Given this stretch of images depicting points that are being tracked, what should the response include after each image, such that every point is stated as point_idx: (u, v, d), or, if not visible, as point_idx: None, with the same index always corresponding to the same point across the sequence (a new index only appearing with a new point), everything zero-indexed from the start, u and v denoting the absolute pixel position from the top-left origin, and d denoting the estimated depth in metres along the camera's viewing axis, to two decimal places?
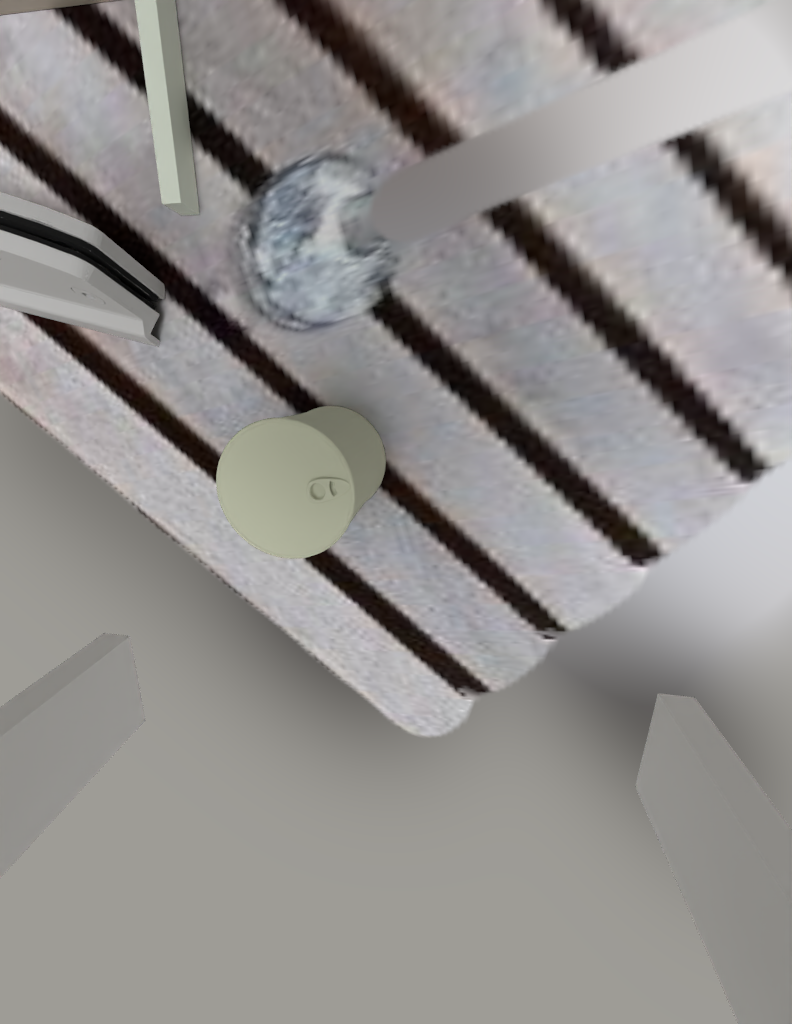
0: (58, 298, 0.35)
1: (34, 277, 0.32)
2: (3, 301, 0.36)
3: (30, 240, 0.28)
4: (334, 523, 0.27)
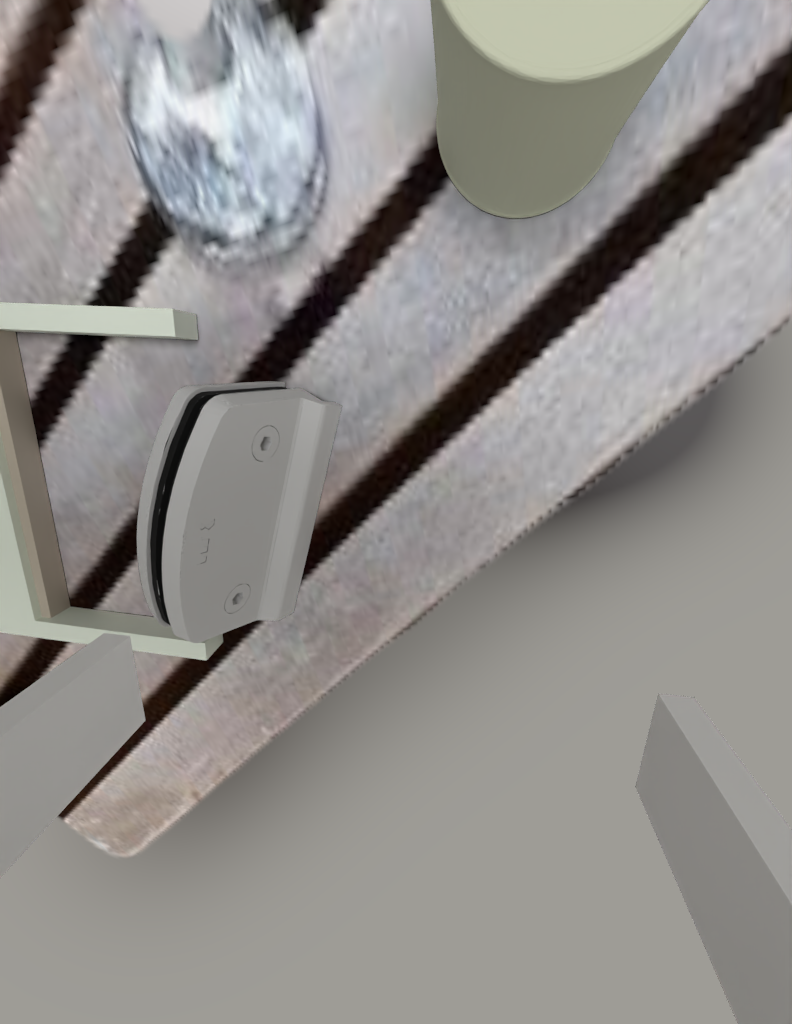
0: (279, 509, 0.28)
1: (242, 502, 0.25)
2: (286, 586, 0.30)
3: (183, 456, 0.22)
4: None
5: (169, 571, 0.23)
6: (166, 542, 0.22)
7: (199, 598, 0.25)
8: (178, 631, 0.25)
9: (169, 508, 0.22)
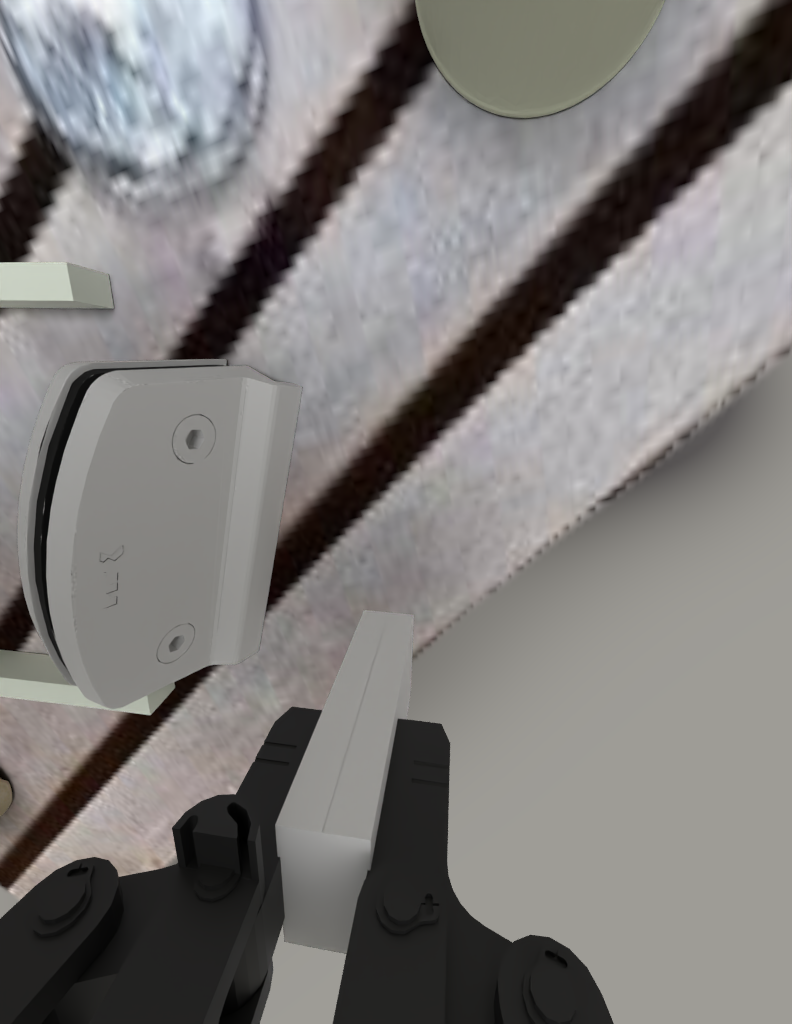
0: (226, 525, 0.22)
1: (167, 519, 0.18)
2: (244, 621, 0.24)
3: (63, 460, 0.15)
4: None
5: (60, 621, 0.17)
6: (50, 582, 0.16)
7: (113, 652, 0.18)
8: (90, 696, 0.19)
9: (49, 535, 0.15)
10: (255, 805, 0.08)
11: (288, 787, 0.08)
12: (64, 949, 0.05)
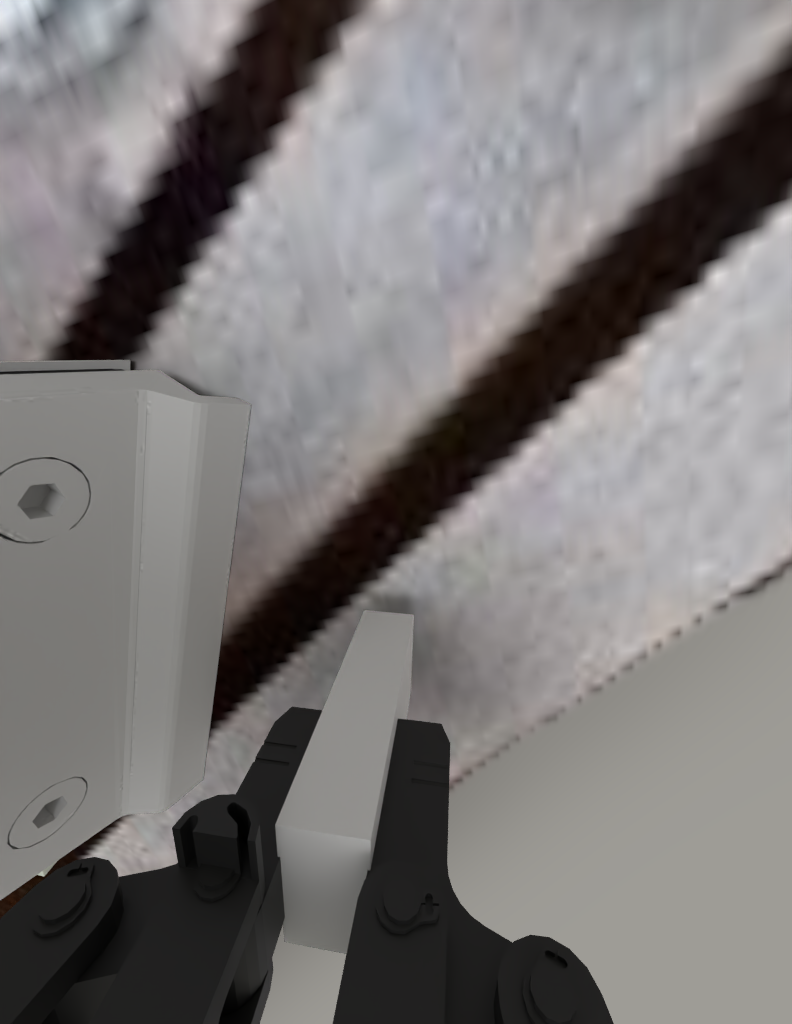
0: (130, 623, 0.14)
1: None
2: (172, 753, 0.16)
3: None
4: None
5: None
6: None
7: None
8: None
9: None
10: (255, 805, 0.08)
11: (289, 786, 0.08)
12: (64, 949, 0.05)
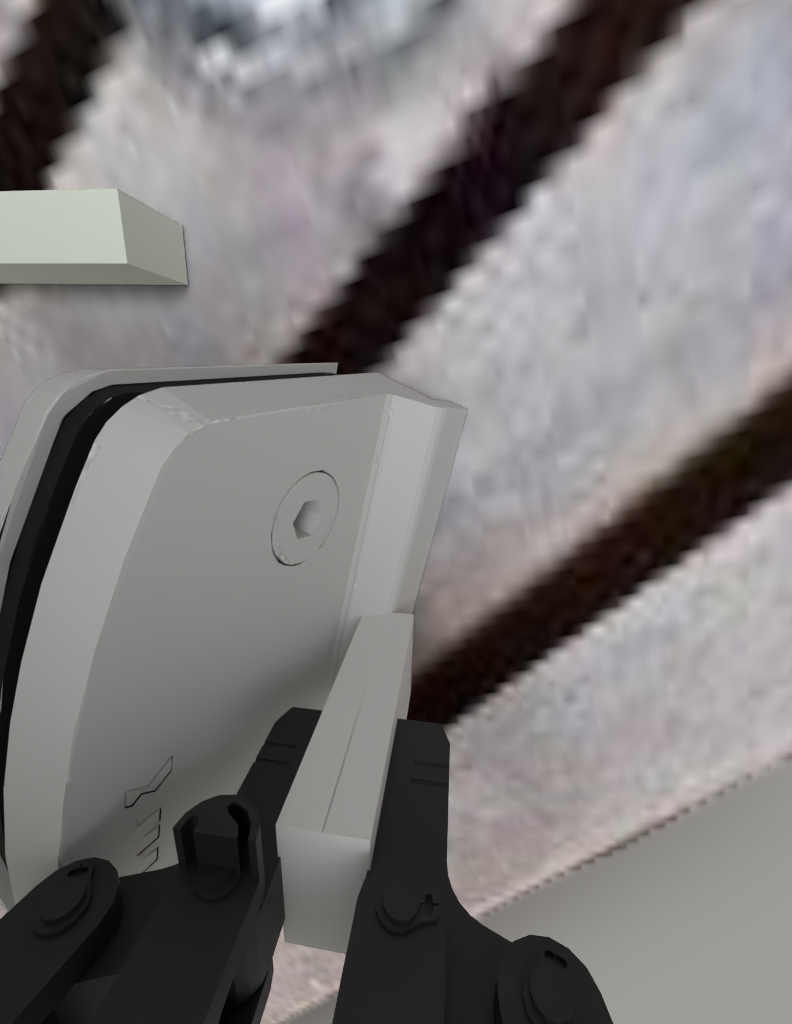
0: (335, 647, 0.13)
1: (253, 674, 0.09)
2: None
3: (40, 607, 0.06)
4: None
5: None
6: (15, 867, 0.07)
7: None
8: None
9: (8, 776, 0.07)
10: (255, 805, 0.08)
11: (288, 786, 0.08)
12: (64, 949, 0.05)
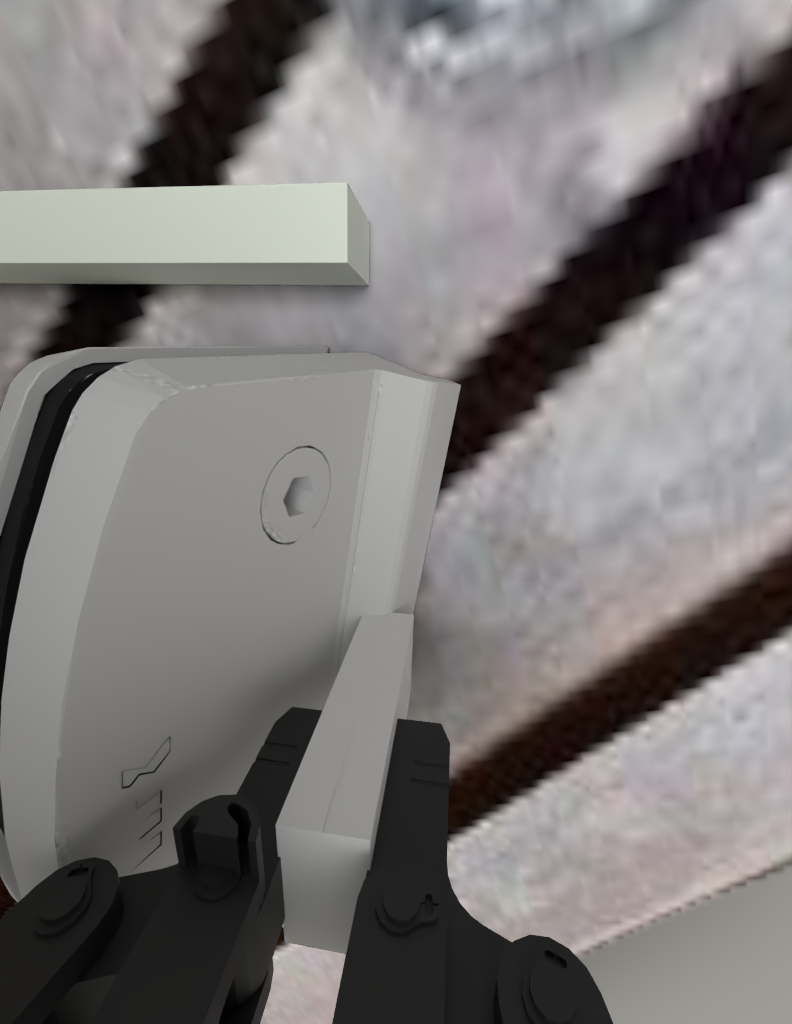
0: (338, 633, 0.12)
1: (251, 656, 0.09)
2: None
3: (25, 581, 0.06)
4: None
5: None
6: (15, 850, 0.07)
7: None
8: None
9: (2, 755, 0.07)
10: (255, 805, 0.08)
11: (288, 786, 0.08)
12: (64, 949, 0.05)
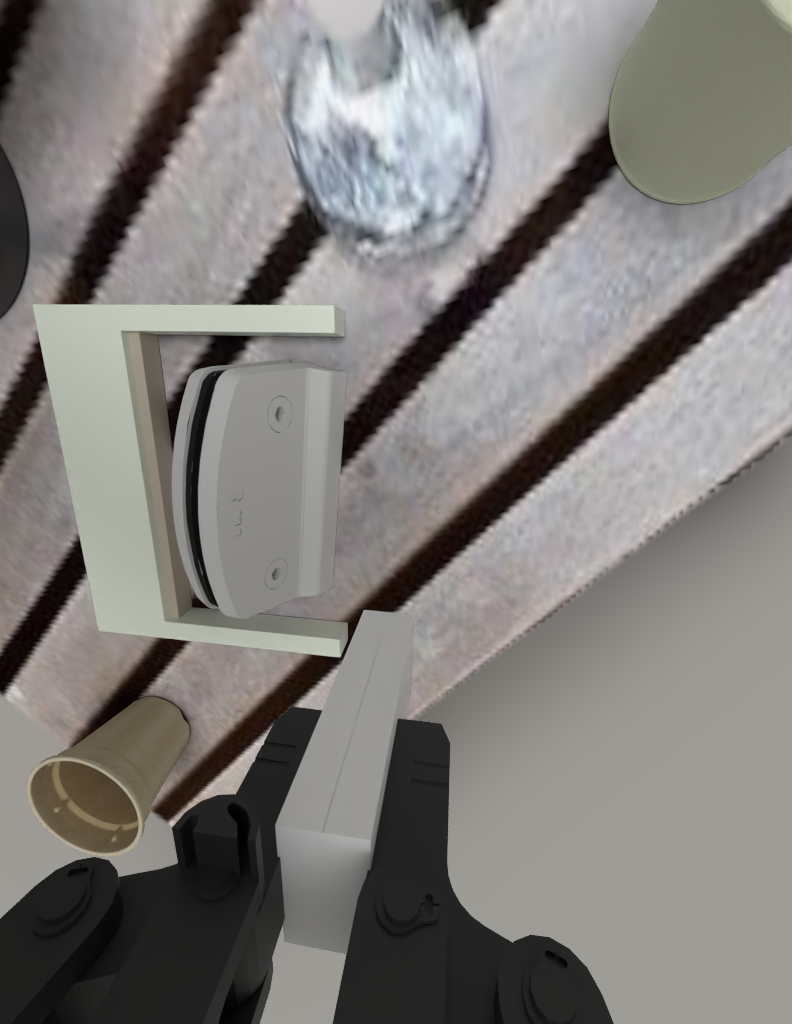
0: (302, 482, 0.29)
1: (267, 473, 0.26)
2: (321, 559, 0.31)
3: (205, 430, 0.23)
4: None
5: (208, 545, 0.24)
6: (201, 517, 0.23)
7: (239, 572, 0.26)
8: (225, 608, 0.26)
9: (199, 483, 0.23)
10: (255, 805, 0.08)
11: (288, 786, 0.08)
12: (64, 949, 0.05)
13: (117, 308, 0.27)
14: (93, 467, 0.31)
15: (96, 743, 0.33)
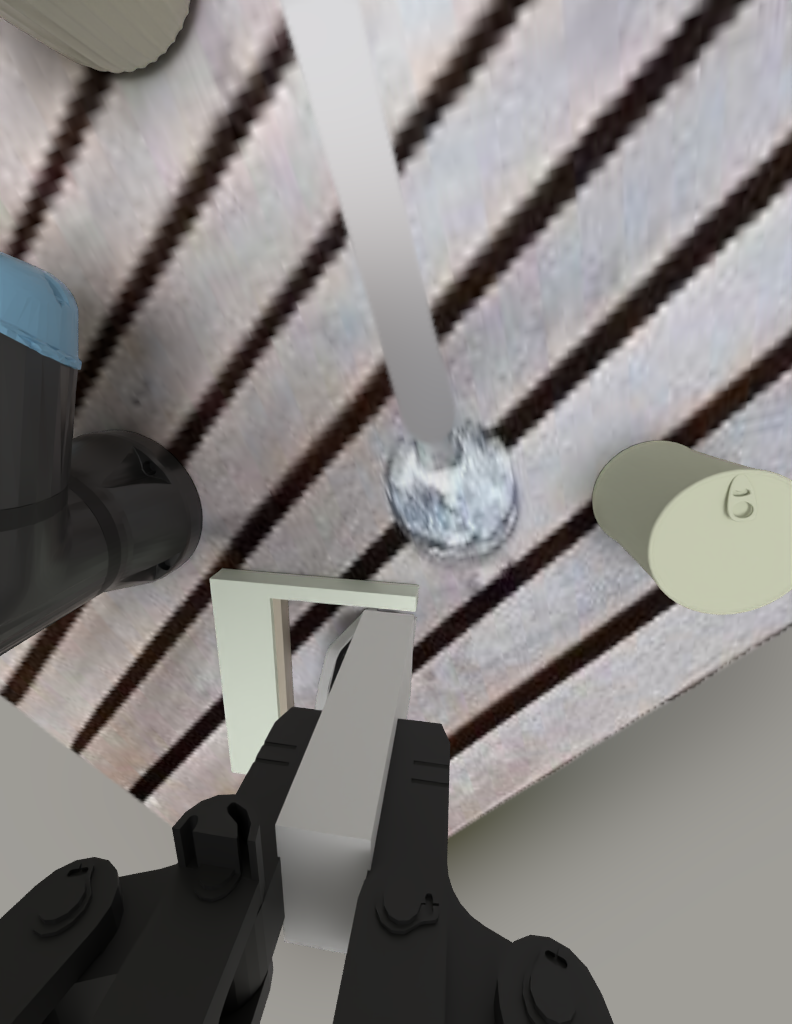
0: None
1: None
2: None
3: None
4: (784, 495, 0.24)
5: None
6: None
7: None
8: None
9: None
10: (255, 805, 0.08)
11: (288, 786, 0.08)
12: (64, 949, 0.05)
13: (269, 586, 0.41)
14: (240, 673, 0.45)
15: None
